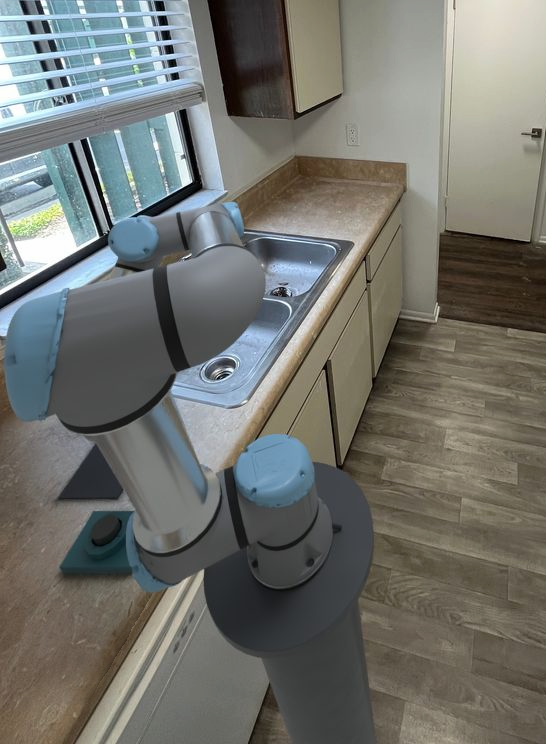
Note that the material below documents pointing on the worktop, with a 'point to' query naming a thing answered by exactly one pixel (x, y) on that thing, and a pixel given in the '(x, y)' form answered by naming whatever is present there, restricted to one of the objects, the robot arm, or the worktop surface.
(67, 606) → the worktop surface
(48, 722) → the worktop surface
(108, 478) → the mat
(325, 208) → the worktop surface
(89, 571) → the teal pump base
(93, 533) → the button
